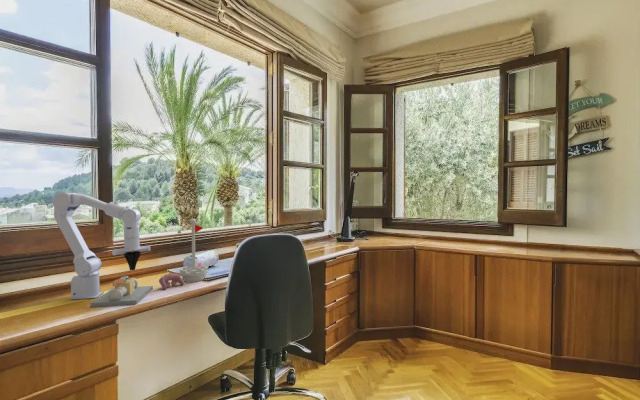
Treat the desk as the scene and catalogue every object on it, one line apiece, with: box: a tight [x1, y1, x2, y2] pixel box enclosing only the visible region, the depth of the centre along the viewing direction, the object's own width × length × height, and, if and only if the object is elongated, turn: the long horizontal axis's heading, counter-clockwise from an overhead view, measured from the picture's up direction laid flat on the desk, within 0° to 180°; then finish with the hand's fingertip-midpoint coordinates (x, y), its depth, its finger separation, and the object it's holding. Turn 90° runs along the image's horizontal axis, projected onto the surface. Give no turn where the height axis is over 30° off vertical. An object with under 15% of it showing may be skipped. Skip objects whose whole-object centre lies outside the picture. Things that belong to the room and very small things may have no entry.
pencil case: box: [182, 249, 220, 269], centre depth 200 cm, size 21×9×10 cm, turn 156°
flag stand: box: [179, 218, 209, 283], centre depth 176 cm, size 13×13×30 cm
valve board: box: [89, 277, 154, 308], centre depth 145 cm, size 16×22×7 cm
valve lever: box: [112, 275, 129, 287], centre depth 142 cm, size 12×3×2 cm, turn 12°
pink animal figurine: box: [158, 273, 185, 290], centre depth 162 cm, size 10×5×7 cm, turn 142°
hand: (132, 269), depth 150 cm, fingers closed
